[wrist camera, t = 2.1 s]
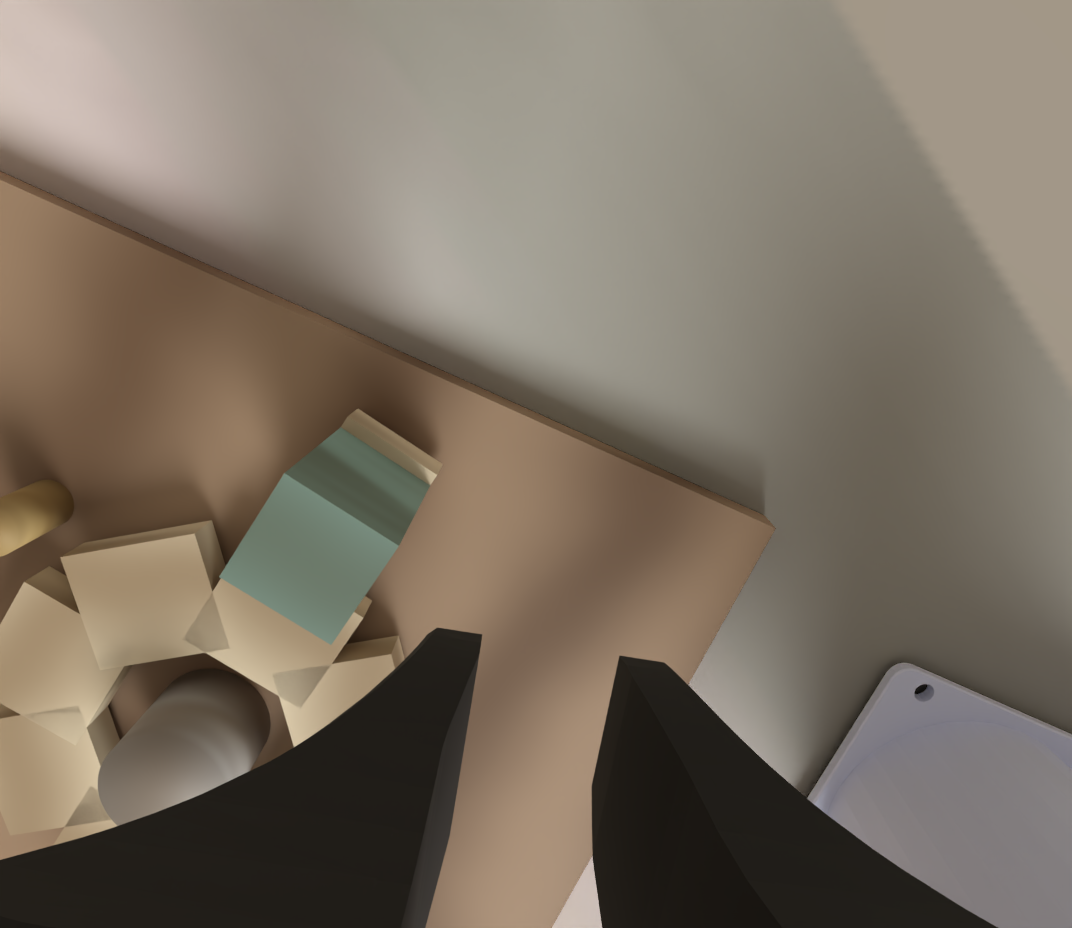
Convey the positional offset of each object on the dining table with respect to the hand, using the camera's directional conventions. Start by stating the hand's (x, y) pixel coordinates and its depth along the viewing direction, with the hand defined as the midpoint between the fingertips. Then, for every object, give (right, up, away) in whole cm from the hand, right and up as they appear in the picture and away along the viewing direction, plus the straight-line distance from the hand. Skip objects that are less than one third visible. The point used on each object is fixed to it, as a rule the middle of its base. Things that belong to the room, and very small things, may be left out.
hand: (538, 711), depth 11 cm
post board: (-9, -3, +12) cm, 15 cm away
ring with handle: (-7, -2, +10) cm, 13 cm away
